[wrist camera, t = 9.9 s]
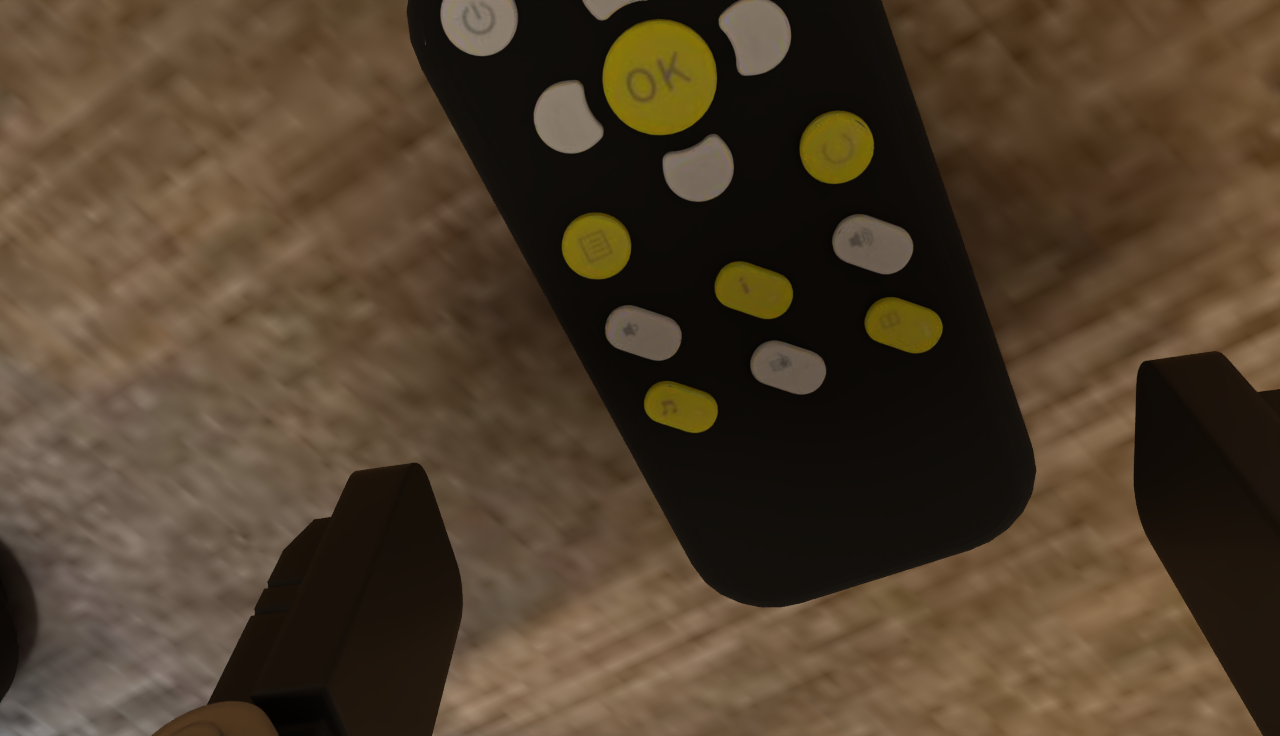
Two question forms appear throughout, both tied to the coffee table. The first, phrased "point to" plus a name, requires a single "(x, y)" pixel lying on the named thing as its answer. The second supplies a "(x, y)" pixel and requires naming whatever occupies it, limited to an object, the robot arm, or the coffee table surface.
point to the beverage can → (7, 645)
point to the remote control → (748, 272)
